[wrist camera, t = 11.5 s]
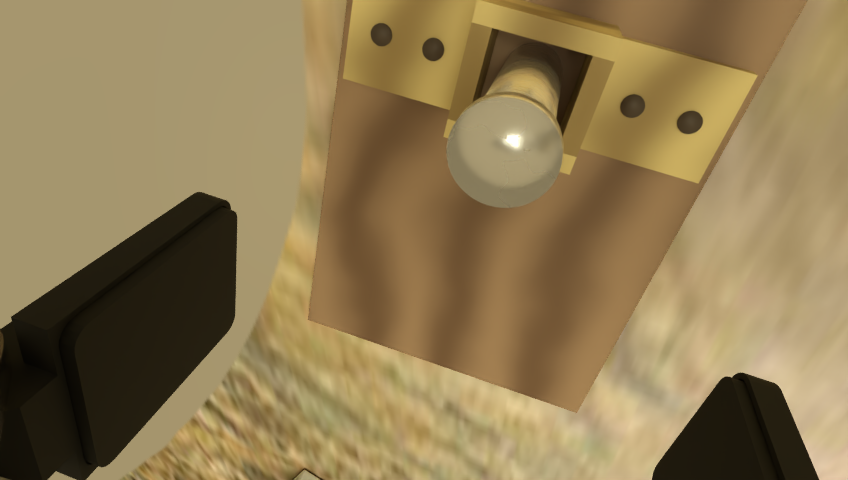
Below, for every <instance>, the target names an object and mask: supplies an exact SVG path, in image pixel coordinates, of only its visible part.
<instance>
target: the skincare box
mask: <svg viewBox="0 0 848 480" xmlns="http://www.w3.org/2000/svg"><path fill="white" fill-rule="evenodd" d="M294 480H320V479H319V478H317V477H315V476H314V475H312V474H311V473H309V472H308V471H306V470H303V471H302V472H301V473H300V474H299V475H298V476H297V477H296V478H295V479H294Z"/></svg>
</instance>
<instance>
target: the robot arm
mask: <svg viewBox="0 0 848 480" xmlns="http://www.w3.org/2000/svg"><path fill="white" fill-rule="evenodd" d="M236 248H237V215H236V213H235V212H234V211H232V210H231V207H230V204H229V202H227V201H226V200H223V199H220V198H217V197H214V196H211V195H208V194H205V193H202V192H197V193H195V194H193V195H191V196H190V197H188V198H187V199H185V200H184V201H182V202H181V203H180V204H178V205H176V206H175V207H174V208H172V209H171V210H169V211H168V212H166V213H165V214H163V215H162V216H160V217H159V218H157V219H156V220H154V221H153V222H151V223H150V224H148V225H147V226H145V227H144V228H142V229H141V230H139V231H138V232H136V233H135V234H133V235H132V236H130V237H129V238H127V239H126V240H125V241H123V242H122V243H120V244H119V245H117V246H116V247H114V248H113V249H111V250H110V251H108V252H107V253H105V254H104V255H102V256H101V257H99V258H98V259H96V260H95V261H93V262H92V263H90V264H89V265H87V266H86V267H85V268H83V269H82V270H80V271H78V272H77V273H76V274H74V275H73V276H71V277H70V278H68V279H67V280H65V281H64V282H62V283H61V284H59V285H58V286H56V287H55V288H53V289H52V290H50V291H49V292H47V293H46V294H44V295H43V296H41V297H40V298H39V299H37V300H35V301H34V302H32V303H31V304H29V305H28V306H27V307H25V308H24V309H22V310H21V311H19V312H18V313H16V314H15V315H13V316H12V317H11V318H12V322H11V323H9V324H8V325H6V326H5V327H3V328H2V329H0V480H47V479H48V478H49V477H50V476H51V475H52V474H53V473H54V472H55V471H57V472H60V473H62V474H64V475H67V476H69V477H72V478H75V479H77V480H86V479H87V478H88V477H89V475H90V474H91V473H92V472H93V471H94V470H95V469H96V468H97V467H98V466H100V467H105V466H107V465H108V464H110V463H111V462H112V461H113V460H114V459H115V458H116V457H117V456H118V454H119V453H120V452H121V451H122V450H123V449H124V448H125V447H126V446H127V444H128V443H129V442H130V441H131V440H132V439H133V438H134V437H135V435H136V434H137V433H138V432H139V431H140V430H141V429H142V428H143V426H144V425H145V424H146V423H147V422H148V421H149V420H150V419H151V418H152V416H153V415H154V414H155V413H156V412H157V411H158V410H159V408H160V407H161V406H162V405H163V404H164V403H165V402H166V401H167V399H168V398H169V397H170V396H171V395H172V394H173V392H175V391H176V389H177V388H178V387H179V386H180V385H181V384H182V383H183V382H184V380H185V379H186V378H187V377H188V376H189V375H190V374H191V373H192V371H193V370H194V369H195V368H196V367H197V366H198V365H199V364H200V362H201V361H202V360H203V359H204V358H205V357H206V356H207V355H208V354H209V352H210V351H211V350H212V349H213V348H214V347H215V346H216V345H217V343H218V342H219V341H220V340H221V339H222V338H223V337H224V336H225V334H226V333H227V332H228V331H229V329H230V328H231V326H232V323H233V321H234V318H235V296H236ZM652 480H819V478H818V476H817V473H816V471H815V469H814V466H813V464H812V462H811V459H810V457H809V455H808V452H807V450H806V447H805V445H804V443H803V440H802V438H801V436H800V433H799V431H798V429H797V426H796V424H795V422H794V419H793V417H792V414H791V412H790V410H789V407H788V405H787V403H786V400H785V398H784V396H783V393H782V391H781V389H780V388H779V386H778V385H776V384H775V383H772V382H769V381H766V380H763V379H760V378H757V377H754V376H751V375H748V374H745V373H737V374H735V375H734V376H733V377H732V378H731V377H724V378H722V379H721V380H720V381H719V383H718V384H717V385H716V387H715V388H714V389H713V391H712V392H711V393H710V395H709V396H708V397H707V399H706V400H705V401H704V403H703V404H702V405H701V407H700V408H699V409H698V411H697V412H696V413H695V415H694V416H693V417H692V419H691V420H690V421H689V423H688V424H687V425H686V427H685V428H684V429H683V431H682V432H681V433H680V435H679V436H678V437H677V439H676V440H675V441H674V443H673V444H672V445H671V447H670V448H669V449H668V451H667V452H666V453H665V455H664V456H663V457H662V459H661V460H660V461H659V463H658V464H657V466H656V467H655V470H654V472H653V477H652Z"/></svg>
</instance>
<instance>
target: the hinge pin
mask: <svg viewBox="0 0 848 480" xmlns="http://www.w3.org/2000/svg"><path fill="white" fill-rule="evenodd" d="M562 76H563V66H562V62H561V59H560V57H559V55H558V54H557V53H556V51H555V50H554V49H552V48H551V47H550V46H548V45H546V44H543V43H538V42H531V43H526V44H523V45H521V46H519V47H518V48H516V49H515V50H514V51H513V52H512V53H511V54H510V55H509V57H508V58H507V60H506V62H505V63H504V65H503V67H502V68H501V70H500V72H499V73H498V75H497V77H496V78H495V80H494V82H493V83H492V85H491V87H490V88H489V90H488V91H487V93H486V95H485V96H483V97H481V98H479V99H477V100H476V101H474V102H473V103H471V104H470V105H469V106H468V107H467V108H466V109H465V110H464V111H463V112H462V113H461V115H460V116H459V118H458V119H457V121H456V122H455V124H454V125H453V127H452V129H451V132H450V134H449V137H448V141H447V150H446V155H447V162H448V166H449V169H450V172H451V174H452V176H453V178H454V180H455V181H456V183H457V184H458V186H459V187H460V188H461V189H462V190H463V191H464V192H465V193H466V194H468V195H469V196H470V197H472V198H473V199H475V200H477V201H479V202H481V203H483V204H486V205H489V206H493V207H499V208H512V207H518V206H523V205H526V204H528V203H531V202H533V201H535V200H536V199H538V198H539V197H541V196H542V195H543V194H544V193H546V192H547V191H548V190H549V188H550V187H551V186H552V185H553V183H554V182H555V180H556V179H557V176H558V174H559V172H560V168H561V165H562V158H563V137H562V132H561V129H560V126H559V124H558V122H557V120H556V117H557V110H558V103H559V97H560V90H561V83H562Z"/></svg>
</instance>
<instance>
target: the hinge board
mask: <svg viewBox="0 0 848 480" xmlns="http://www.w3.org/2000/svg"><path fill="white" fill-rule="evenodd" d="M806 2H807V0H347V8H346V16H345V24H344V32H343V40H342V48H341V56H340V64H339V73H338V81H337V89H336V97H335V105H334V113H333V121H332V129H331V137H330V146H329V154H328V162H327V170H326V178H325V186H324V194H323V202H322V211H321V219H320V227H319V235H318V243H317V251H316V259H315V267H314V275H313V284H312V292H311V300H310V308H309V316H308V320H310V321H313V322H316V323H319V324H322V325H325V326H328V327H331V328H334V329H336V330H339V331H342V332H345V333H348V334H351V335H354V336H357V337H359V338H362V339H365V340H368V341H371V342H374V343H377V344H380V345H383V346H385V347H388V348H391V349H394V350H397V351H400V352H403V353H406V354H408V355H411V356H414V357H417V358H420V359H423V360H426V361H429V362H432V363H434V364H437V365H440V366H443V367H446V368H449V369H452V370H455V371H458V372H460V373H463V374H466V375H469V376H472V377H475V378H478V379H481V380H483V381H486V382H489V383H492V384H495V385H498V386H501V387H504V388H507V389H509V390H512V391H515V392H518V393H521V394H524V395H527V396H530V397H532V398H535V399H538V400H541V401H544V402H547V403H550V404H553V405H556V406H558V407H561V408H564V409H567V410H570V411H573V412H576V413H577V411H578V410H579V408H580V406H581V404H582V402H583V401H584V399H585V397H586V395H587V394H588V392H589V390H590V388H591V386H592V385H593V383H594V381H595V379H596V377H597V376H598V374H599V372H600V370H601V368H602V367H603V365H604V363H605V361H606V360H607V358H608V356H609V354H610V352H611V351H612V349H613V347H614V345H615V343H616V342H617V340H618V338H619V336H620V335H621V333H622V331H623V329H624V327H625V326H626V324H627V322H628V320H629V318H630V317H631V315H632V313H633V311H634V310H635V308H636V306H637V304H638V302H639V301H640V299H641V297H642V295H643V293H644V292H645V290H646V288H647V286H648V284H649V283H650V281H651V279H652V277H653V276H654V274H655V272H656V270H657V268H658V267H659V265H660V263H661V261H662V259H663V258H664V256H665V254H666V252H667V251H668V249H669V247H670V245H671V243H672V242H673V240H674V238H675V236H676V234H677V233H678V231H679V229H680V227H681V225H682V224H683V222H684V220H685V218H686V217H687V215H688V213H689V211H690V209H691V208H692V206H693V204H694V202H695V200H696V199H697V197H698V195H699V193H700V192H701V190H702V188H703V186H704V184H705V183H706V181H707V179H708V177H709V175H710V174H711V172H712V170H713V168H714V166H715V165H716V163H717V161H718V159H719V158H720V156H721V154H722V152H723V150H724V149H725V147H726V145H727V143H728V141H729V140H730V138H731V136H732V134H733V133H734V131H735V129H736V127H737V125H738V124H739V122H740V120H741V118H742V116H743V115H744V113H745V111H746V109H747V108H748V106H749V104H750V102H751V100H752V99H753V97H754V95H755V93H756V91H757V90H758V88H759V86H760V84H761V82H762V81H763V79H764V77H765V75H766V74H767V72H768V70H769V68H770V66H771V65H772V63H773V61H774V59H775V57H776V56H777V54H778V52H779V50H780V49H781V47H782V45H783V43H784V41H785V40H786V38H787V36H788V34H789V32H790V31H791V29H792V27H793V25H794V23H795V22H796V20H797V18H798V16H799V15H800V13H801V11H802V9H803V7H804V6H805V4H806ZM531 42H538V43H543V44H546V45H548V46H550V47H551V48H552V49H554V50H555V51H556V53H557V54H558V55H559V57H560V59H561V62H562V66H563V76H562V83H561V90H560V97H559V103H558V110H557V117H556V120H557V122H558V124H559V126H560V129H561V132H562V137H563V158H562V165H561V168H560V172H559V174H558V176H557V179H556V180H555V182H554V183H553V185H552V186H551V187H550V188H549V190H548V191H547V192H546V193H544V194H543V195H542V196H541V197H539V198H538V199H536V200H535V201H533V202H531V203H528V204H526V205H523V206H518V207H512V208H499V207H493V206H489V205H486V204H483V203H481V202H479V201H477V200H475V199H473V198H472V197H470V196H469V195H468V194H466V193H465V192H464V191H463V190H462V189H461V188H460V187H459V186H458V184H457V183H456V181H455V180H454V178H453V176H452V174H451V172H450V169H449V166H448V162H447V155H446V150H447V141H448V137H449V134H450V132H451V129H452V127H453V125H454V124H455V122H456V121H457V119H458V118H459V116H460V115H461V113H462V112H463V111H464V110H465V109H466V108H467V107H468V106H469V105H470V104H471V103H473V102H474V101H476V100H477V99H479V98H481V97H483V96H485V95H486V93H487V91H488V90H489V88H490V87H491V85H492V83H493V82H494V80H495V78H496V77H497V75H498V73H499V72H500V70H501V68H502V67H503V65H504V63H505V62H506V60H507V58H508V57H509V55H510V54H511V53H512V52H513V51H514V50H515V49H516V48H518V47H519V46H521V45H523V44H526V43H531Z"/></svg>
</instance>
